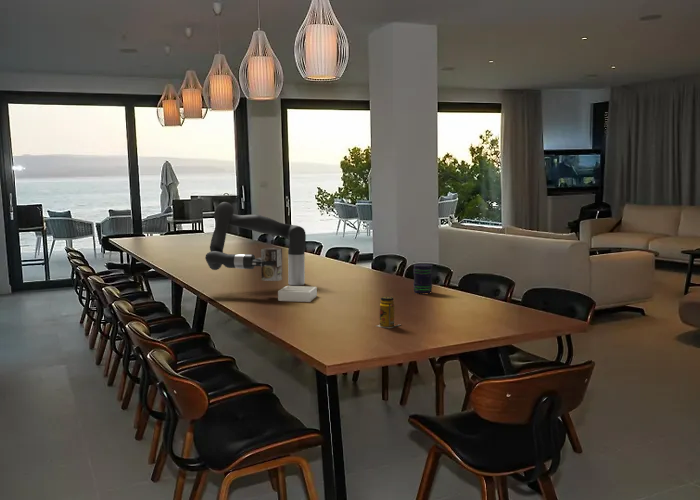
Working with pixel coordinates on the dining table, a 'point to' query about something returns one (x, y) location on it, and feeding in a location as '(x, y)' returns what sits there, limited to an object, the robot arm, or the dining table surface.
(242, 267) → the robot arm
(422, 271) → the storage jar
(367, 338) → the dining table surface
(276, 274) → the coffee box
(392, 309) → the condiment
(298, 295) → the white square tray
